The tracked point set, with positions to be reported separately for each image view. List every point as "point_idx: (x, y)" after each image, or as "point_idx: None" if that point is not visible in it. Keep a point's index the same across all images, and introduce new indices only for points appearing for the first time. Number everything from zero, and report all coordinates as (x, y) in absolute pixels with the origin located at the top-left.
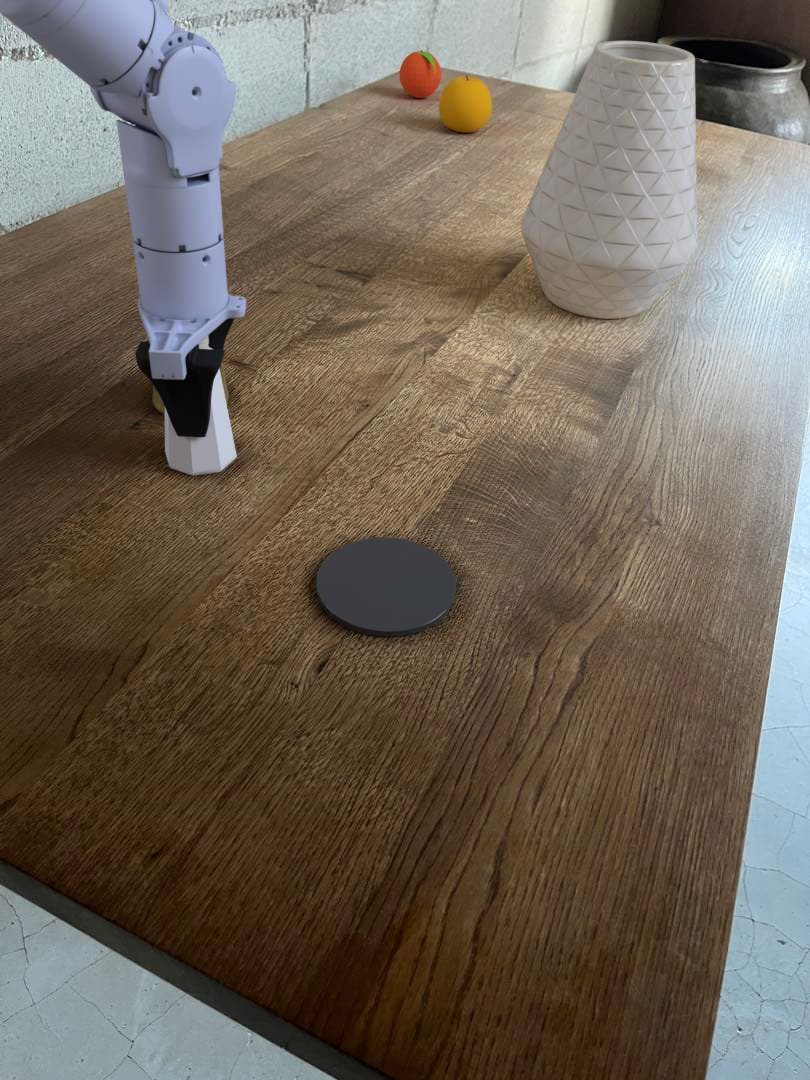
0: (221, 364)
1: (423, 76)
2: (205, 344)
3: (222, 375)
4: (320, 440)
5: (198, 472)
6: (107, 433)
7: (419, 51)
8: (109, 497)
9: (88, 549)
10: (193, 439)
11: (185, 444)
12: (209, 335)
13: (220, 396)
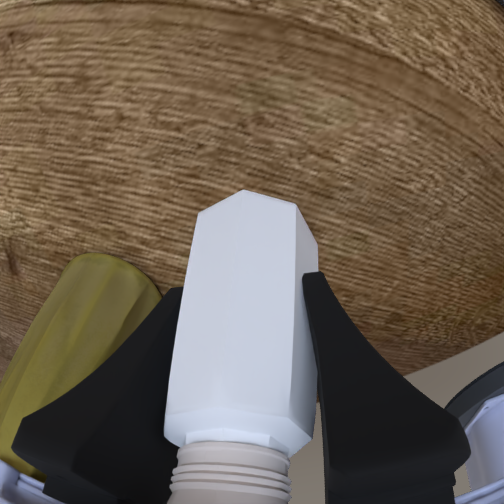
0: (63, 306)
1: None
2: (236, 471)
3: (73, 290)
4: (130, 53)
5: (313, 238)
6: None
7: None
8: (374, 321)
9: (465, 305)
10: None
11: None
12: (135, 441)
13: (250, 304)
